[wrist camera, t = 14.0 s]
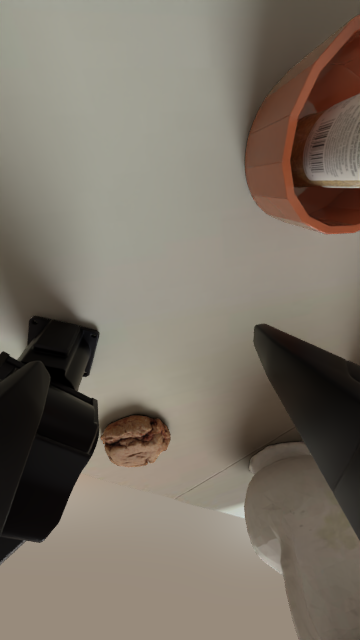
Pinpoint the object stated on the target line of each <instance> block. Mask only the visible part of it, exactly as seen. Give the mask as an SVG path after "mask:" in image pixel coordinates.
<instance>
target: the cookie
mask: <svg viewBox="0 0 360 640" xmlns="http://www.w3.org/2000/svg"><path fill="white" fill-rule="evenodd" d="M101 440H102V441H103V444H105V451H106V453H107V455H108V456H109V459H110V461H111V462H112V463H114V464H116V465H117V466H125V467H139V466H144V465H147V464H148V462H147V461H149V462H150V463H153V462H155V460H156V459H157V457H158V456H159V454H160V453H161V452H162V451H165V450H167V447H168V445H169V442H170V432H169V429H168V428H167V426H166V425H164V423H162V422H161V421H160V419H152V418H149V417H148V416H147V417H146V416H141V415H139V416H138V415H134V416H131V415H130V417H125V418H124V419H120V420H118V421H116V422H114V423H113V422H112V423H111V424H109V425H108V427H107V428H106V429H105V431H104V433H103V435H102V436H101Z"/></svg>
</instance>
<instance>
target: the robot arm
mask: <svg viewBox="0 0 360 640" xmlns="http://www.w3.org/2000/svg"><path fill="white" fill-rule="evenodd" d="M34 320H36V321H37V322H38V323H36V322H35V321H34ZM92 334H95V335H96V336H94V335H92ZM98 338H99V332H98V331H97V330H94V329H89V328H85V327H81V326H78V325H74V324H70V323H65V322H61V321H57V320H51V319H47V318H43V317H38V316H33V317H32V318H31V319H30V320H29V332H28V346H27V348H26V349H25V350H24V352H23V353H22V354H21V356H20V357H19V358H18V360H16V359H14V358H12V357H10V356H9V354H7V353H5V352H4V351H3V352H2V353H1V354H0V565H1V564H2V563H3V562H4V561H5V560H6V559H7V558H8V557H9V556H10V555H12V554H13V553H14V552H15V551H16V550H17V549H18V548H19V547H20V546H21V545H22V544H24V542H26V541H32V542H39V543H40V542H42V541H44V540H45V539H46V537H47V536H48V535H49V534H50V533H51V531H52V530H53V529H54V528H55V527H56V525H57V524H58V523H59V521H60V519H61V516H62V514H63V511H64V509H65V506H66V504H67V501H68V498H69V496H70V494H71V491H72V489H73V487H74V485H75V483H76V481H77V479H78V477H79V475H80V473H81V472H82V470H83V468H84V467H85V466H86V464H87V463H88V461H89V460H90V458H91V456H92V454H93V452H94V450H95V447H96V444H97V441H98V437H99V421H98V402H97V400H96V399H94V398H89V397H87V396H86V395H84V394H82V393H80V392H78V388H79V385H80V383H81V380H82V377H87V376H89V374H90V370H91V366H92V362H93V358H94V354H95V350H96V346H97V342H98ZM253 342H254V346H255V349H256V351H257V353H258V356H259V358H260V361H261V363H262V366H263V368H264V370H265V373H266V375H267V377H268V379H269V381H270V382H271V384H272V386H273V388H274V390H275V391H276V393H277V395H278V397H279V398H280V400H281V402H282V404H283V405H284V407H285V409H286V411H287V413H288V414H289V416H290V418H291V420H292V421H293V423H294V425H295V427H296V429H297V430H298V432H299V434H300V436H301V437H302V439H303V441H304V443H305V445H306V446H307V448H308V450H309V452H310V453H311V455H312V457H313V459H314V460H315V462H316V464H317V466H318V468H319V469H320V471H321V473H322V475H323V476H324V478H325V480H326V482H327V484H328V485H329V487H330V489H331V491H332V492H333V495H334V496H335V498H336V500H337V502H338V503H339V505H340V507H341V509H342V510H343V512H344V514H345V516H346V518H347V519H348V521H349V523H350V525H351V526H352V528H353V530H354V532H355V534H356V535H357V537H358V539H359V541H360V366H359V365H357V364H355V363H352V362H350V361H346V360H345V359H343V358H341V357H339V356H337V355H334V354H332V353H330V352H328V351H325V350H323V349H321V348H319V347H316V346H314V345H312V344H310V343H307V342H305V341H303V340H301V339H298V338H296V337H294V336H292V335H289V334H287V333H285V332H283V331H280V330H278V329H276V328H274V327H271V326H269V325H267V324H259V325H256V326H255V327H254V339H253ZM85 372H86V373H85Z"/></svg>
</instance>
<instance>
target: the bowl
mask: <svg viewBox="0 0 360 640" xmlns="http://www.w3.org/2000/svg"><path fill="white" fill-rule="evenodd" d="M357 94H360V14H359V15H357V16H355V17H354V18H352V19H351V20H350V21H349V22H347V23H346V24H345V25H344V26H343V27H341V28H340V29H339V30H338V31H336V32H335V33H334V34H333V35H332V36H330V37H329V38H328V39H327V40H325V41H324V42H323V43H322V44H321V45H319V46H318V47H317V48H316V49H314V50H313V51H312V52H311V53H310V54H308V55H307V56H306V57H305V58H303V59H302V60H301V61H300V62H299V63H297V64H296V65H295V66H294V67H292V68H291V69H290V70H289V71H288V72H287V73H286V74H285V76H284V77H283V78H282V79H281V80H280V81H279V82H278V83H277V84H276V85H275V86H274V87H273V89H272V90H271V91H270V93H269V94H268V95H267V97H266V98H265V100H264V101H263V103H262V105H261V106H260V108H259V110H258V112H257V114H256V116H255V119H254V121H253V124H252V127H251V129H250V133H249V137H248V141H247V146H246V153H245V173H246V179H247V184H248V187H249V190H250V192H251V195H252V197H253V199H254V200H255V202H256V204H257V205H258V206H259V207H260V208H261V209H262V210H263V211H264V212H265V213H266V214H268V215H270V216H271V217H273V218H276V219H278V220H281V221H283V222H285V223H289V224H292V225H296V226H299V227H303V228H306V229H310V230H313V231H317V232H320V233H324V234H341V233H354V232H357V231H359V230H360V188H326V187H322V186H309V187H303V188H297V187H294V186H293V178H292V171H291V163H290V158H291V152H292V147H293V142H294V137H295V131H296V126H297V122H298V121H299V120H301V119H302V118H303V117H305V116H307V115H310V114H313V113H319V112H322V111H324V110H326V109H328V108H330V107H332V106H334V105H335V104H337V103H339V102H341V101H344V100H346V99H348V98H351V97H353V96H355V95H357Z"/></svg>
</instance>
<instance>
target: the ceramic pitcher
mask: <svg viewBox="0 0 360 640" xmlns="http://www.w3.org/2000/svg"><path fill="white" fill-rule="evenodd" d="M249 471H251V472H253V473H254V474H255V475H254V476H253V478H252V480H251V481H250V483H249V485H248V489H247V493H246V499H245V505H244V510H245V520H246V525H247V531H248V534H249V537H250V540H251V543H252V546H253V548H254V550H255V552H256V554H257V555H258V556H259V557H260V558H261V559H262V560H263V561H264V562H265V563H267V564H268V565H269V566H271V567H272V568H273V569H275V570H276V571H277V572H279V573H280V574H282V575H283V577H284V580H285V588H286V594H287V598H288V602H289V606H290V611H291V615H292V619H293V623H294V626H295V629H296V633H297V636H298V639H299V640H360V541H359V539H358V537H357V535H356V534H355V532H354V530H353V528H352V526H351V525H350V523H349V521H348V519H347V518H346V516H345V514H344V512H343V510H342V509H341V507H340V505H339V503H338V502H337V500H336V498H335V496H334V495H333V492H332V491H331V489H330V487H329V485H328V484H327V482H326V480H325V478H324V476H323V475H322V473H321V471H320V469H319V468H318V466H317V464H316V462H315V460H314V459H313V457H312V455H310V452H309V450H308V448H307V446H306V445H305V443H304V442H303V441H300V442H289V443H280V444H275V445H270V446H267V447H266V448H265V449H263V450H262V451H260V452H259V453H257V454H256V455H254V456H253V457H252V458H251V460H250V464H249Z"/></svg>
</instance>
